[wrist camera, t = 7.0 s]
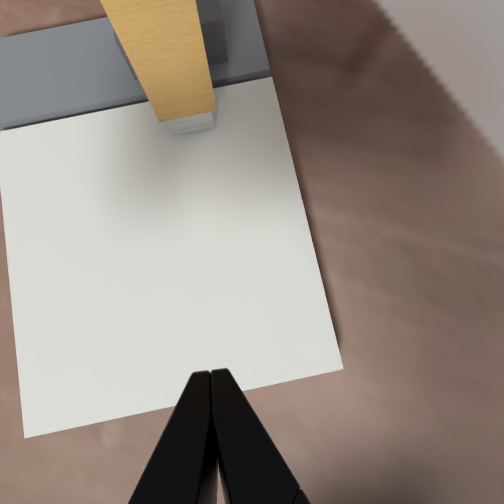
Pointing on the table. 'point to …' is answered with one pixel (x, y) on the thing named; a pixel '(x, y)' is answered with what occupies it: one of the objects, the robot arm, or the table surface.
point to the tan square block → (167, 59)
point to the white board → (150, 228)
